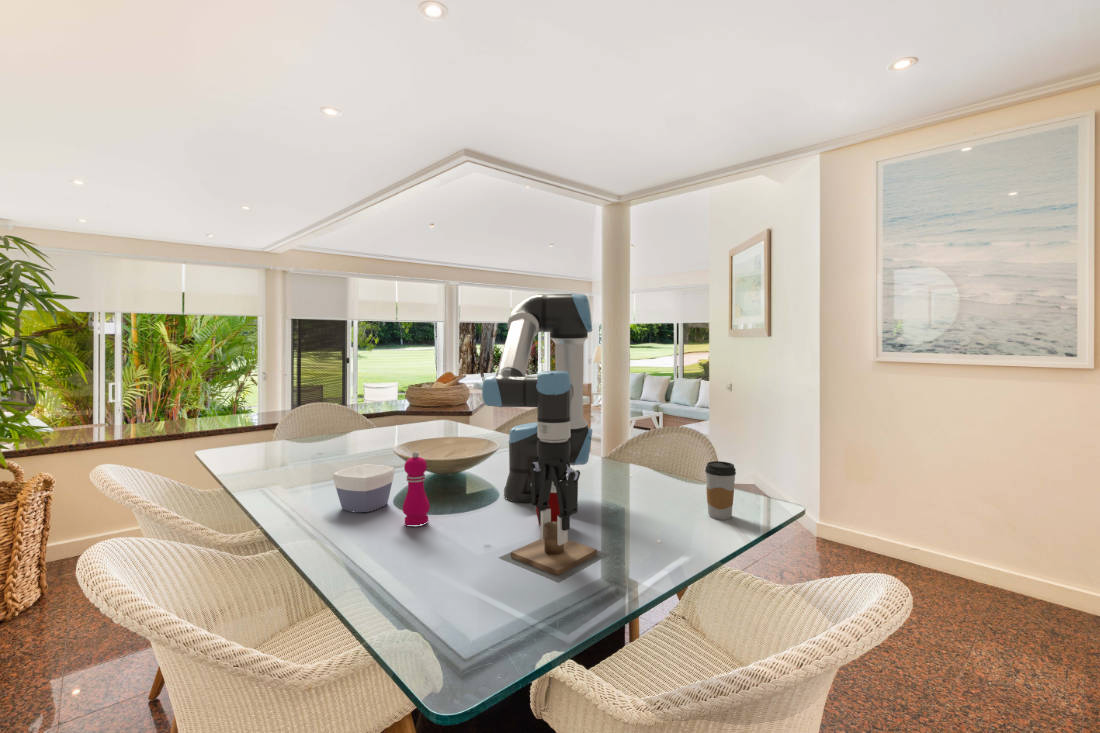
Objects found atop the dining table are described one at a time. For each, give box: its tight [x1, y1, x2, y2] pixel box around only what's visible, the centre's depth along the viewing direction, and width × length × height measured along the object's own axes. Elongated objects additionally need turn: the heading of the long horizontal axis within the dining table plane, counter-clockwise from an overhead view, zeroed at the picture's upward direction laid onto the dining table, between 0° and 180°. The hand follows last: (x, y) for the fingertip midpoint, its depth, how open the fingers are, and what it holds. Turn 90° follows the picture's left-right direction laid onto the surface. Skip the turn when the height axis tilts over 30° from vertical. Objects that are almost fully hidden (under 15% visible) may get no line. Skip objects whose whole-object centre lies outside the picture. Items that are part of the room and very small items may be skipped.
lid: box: [511, 522, 598, 576], centre depth 116 cm, size 14×14×7 cm
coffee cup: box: [704, 460, 737, 521], centre depth 144 cm, size 8×8×15 cm
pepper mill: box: [402, 451, 431, 526], centre depth 139 cm, size 7×7×20 cm
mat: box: [498, 549, 609, 583], centre depth 116 cm, size 18×18×1 cm
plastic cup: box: [535, 482, 560, 527], centre depth 136 cm, size 11×11×12 cm
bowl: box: [332, 464, 396, 513], centre depth 154 cm, size 15×15×11 cm
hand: (554, 540), depth 116 cm, fingers closed on lid, 4 cm apart
